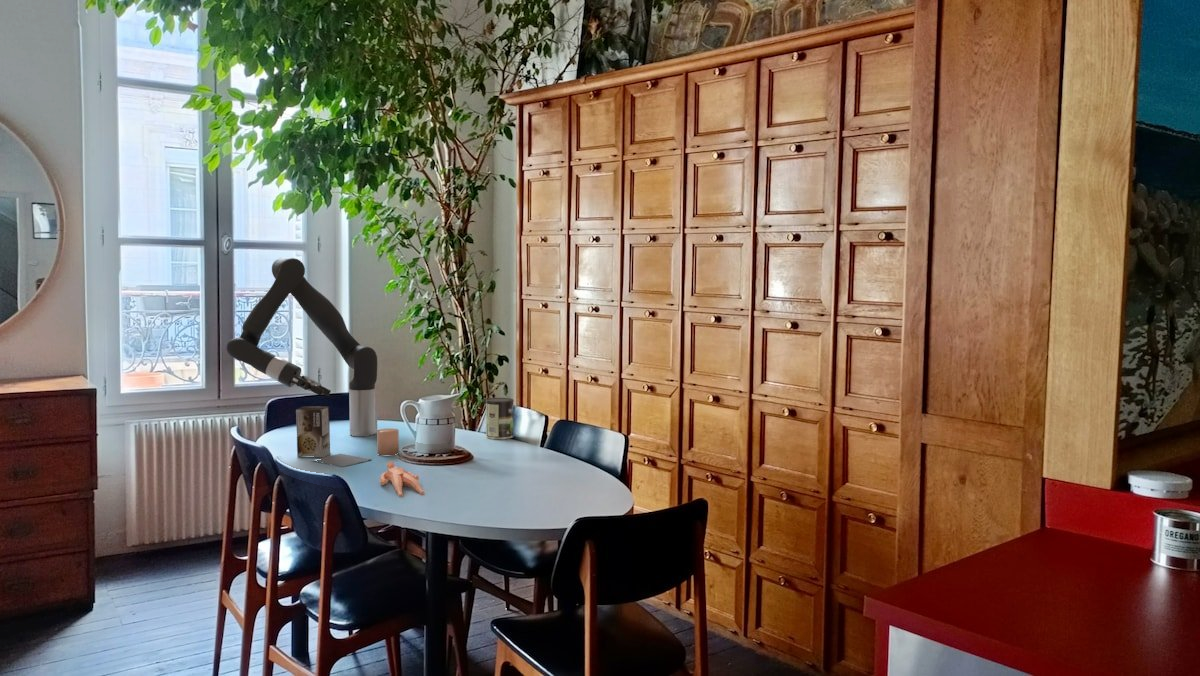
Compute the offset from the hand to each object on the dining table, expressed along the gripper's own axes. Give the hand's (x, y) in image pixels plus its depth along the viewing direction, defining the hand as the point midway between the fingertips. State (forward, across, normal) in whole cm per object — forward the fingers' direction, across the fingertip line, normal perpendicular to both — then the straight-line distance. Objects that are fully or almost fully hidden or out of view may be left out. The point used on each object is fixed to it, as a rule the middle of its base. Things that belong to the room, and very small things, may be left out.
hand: (326, 393), depth 293 cm
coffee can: (+58, +28, -12) cm, 65 cm away
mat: (+18, -11, +16) cm, 26 cm away
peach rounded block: (+28, -1, +8) cm, 30 cm away
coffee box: (+7, -4, +20) cm, 21 cm away
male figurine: (+42, -42, +10) cm, 61 cm away
